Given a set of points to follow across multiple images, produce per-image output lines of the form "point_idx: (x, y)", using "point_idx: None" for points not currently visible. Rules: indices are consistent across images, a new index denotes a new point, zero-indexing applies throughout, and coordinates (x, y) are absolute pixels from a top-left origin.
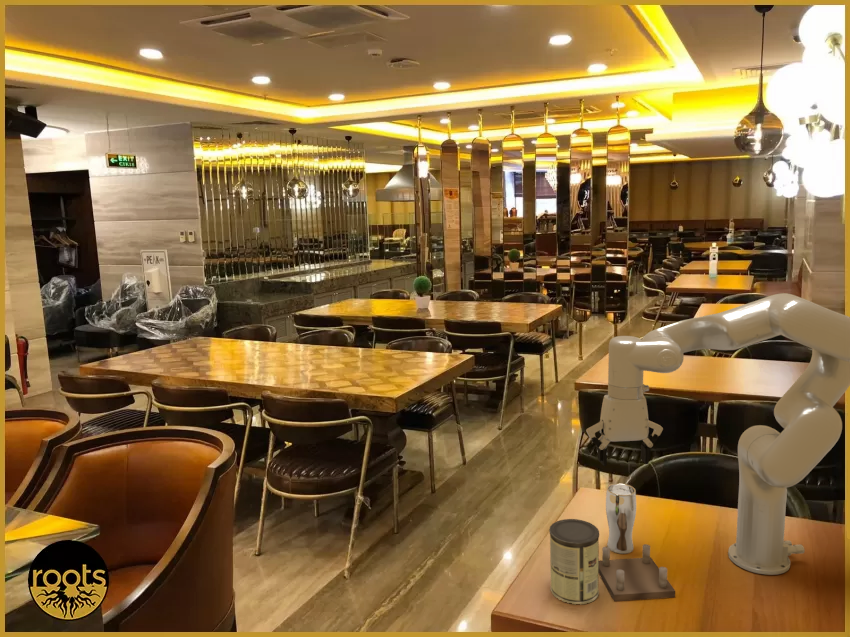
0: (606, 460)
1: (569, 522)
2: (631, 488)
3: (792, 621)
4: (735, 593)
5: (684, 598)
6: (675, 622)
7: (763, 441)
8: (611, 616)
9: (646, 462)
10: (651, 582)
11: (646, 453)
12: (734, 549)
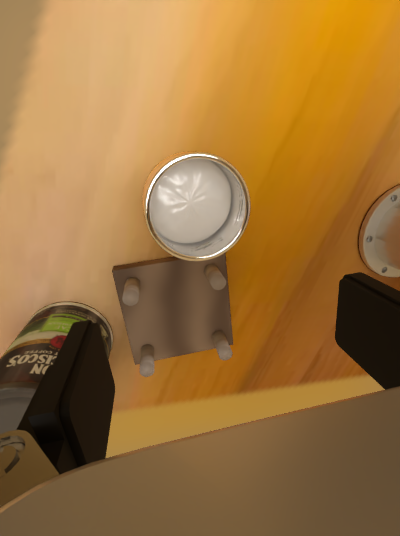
0: (109, 415)
1: (6, 402)
2: (241, 187)
3: (350, 366)
4: (317, 320)
5: (242, 338)
6: (211, 386)
7: None
8: (126, 387)
9: (345, 348)
10: (203, 327)
11: (387, 385)
12: (382, 213)
